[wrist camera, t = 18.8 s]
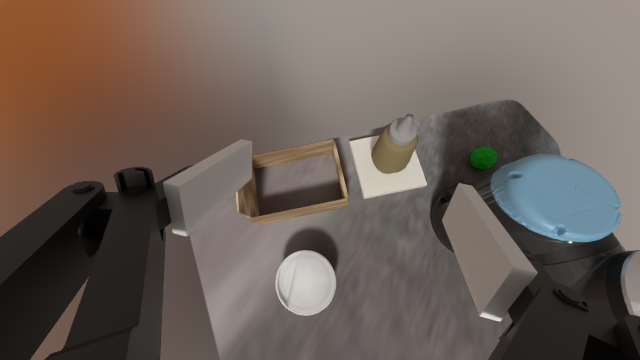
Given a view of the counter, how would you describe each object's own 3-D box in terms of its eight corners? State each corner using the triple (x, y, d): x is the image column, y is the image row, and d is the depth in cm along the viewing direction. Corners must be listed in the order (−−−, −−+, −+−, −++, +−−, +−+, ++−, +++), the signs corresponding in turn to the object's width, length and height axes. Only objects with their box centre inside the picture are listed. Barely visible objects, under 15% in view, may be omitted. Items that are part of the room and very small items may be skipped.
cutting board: (425, 186, 53) (427, 184, 52) (363, 198, 53) (364, 197, 52) (406, 132, 58) (407, 129, 57) (349, 143, 58) (349, 141, 57)
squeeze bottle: (406, 179, 53) (440, 140, 36) (369, 179, 53) (385, 140, 36) (403, 145, 55) (433, 94, 38) (368, 146, 56) (381, 96, 39)
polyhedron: (461, 158, 55) (472, 149, 50) (478, 148, 55) (491, 138, 51) (475, 176, 53) (488, 168, 49) (493, 166, 54) (508, 157, 49)
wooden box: (347, 206, 53) (350, 191, 42) (258, 224, 53) (237, 214, 42) (334, 150, 57) (334, 123, 46) (252, 167, 57) (231, 144, 46)
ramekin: (274, 262, 50) (267, 262, 45) (323, 242, 51) (322, 240, 46) (291, 319, 47) (286, 326, 42) (344, 296, 47) (345, 301, 42)
